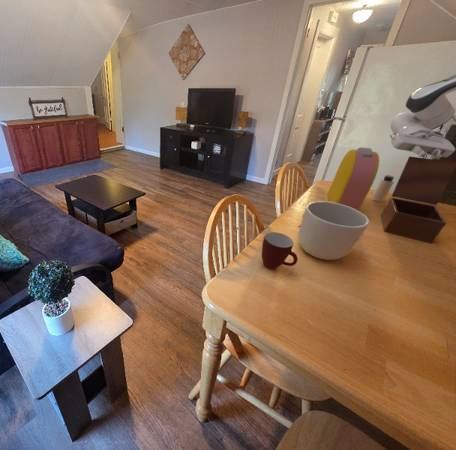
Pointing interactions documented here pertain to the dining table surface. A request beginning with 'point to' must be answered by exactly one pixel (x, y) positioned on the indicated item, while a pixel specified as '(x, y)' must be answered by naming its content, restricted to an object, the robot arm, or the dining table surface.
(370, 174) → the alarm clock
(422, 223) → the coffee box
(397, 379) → the dining table surface
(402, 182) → the box lid
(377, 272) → the dining table surface
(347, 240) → the planter
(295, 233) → the dining table surface
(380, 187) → the pepper mill
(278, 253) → the mug
